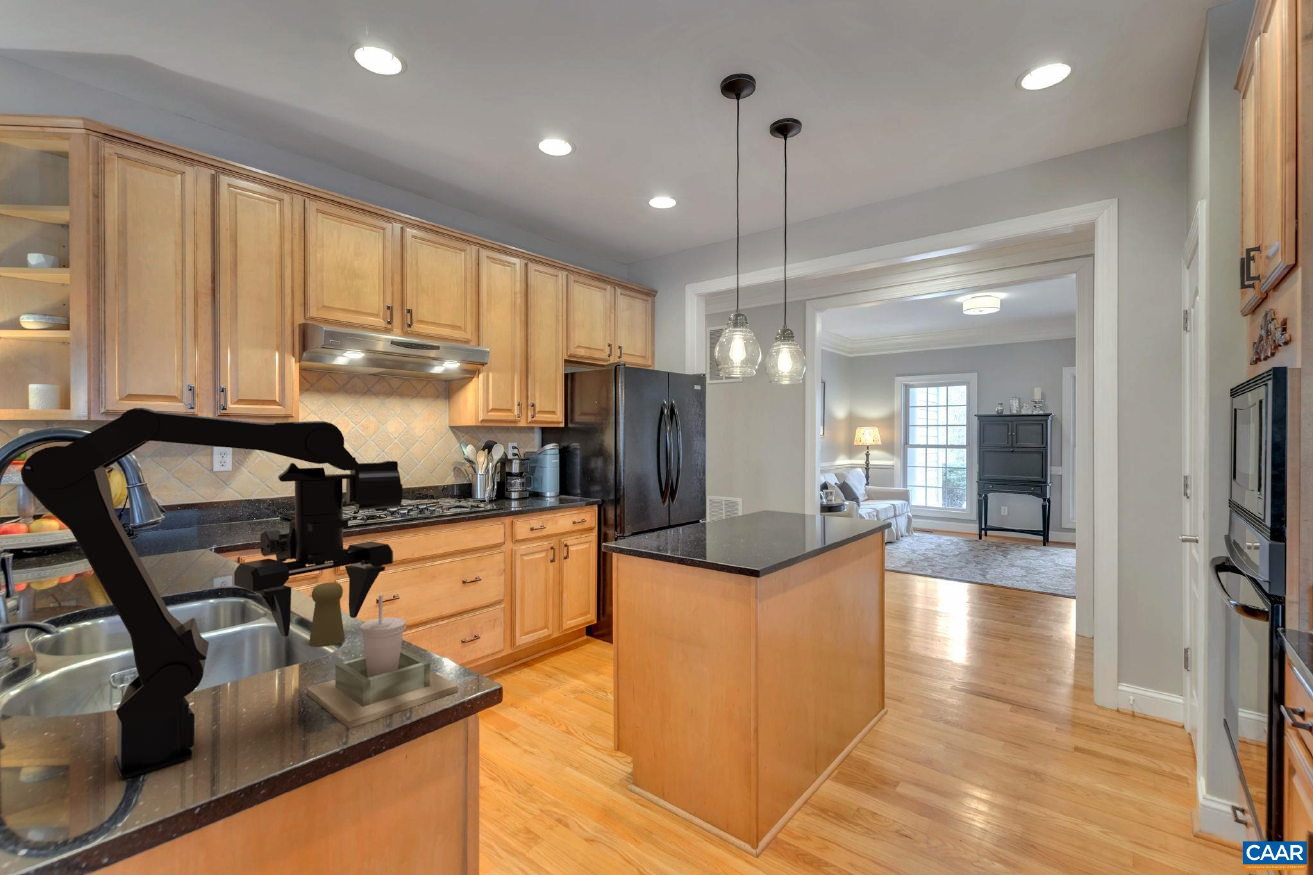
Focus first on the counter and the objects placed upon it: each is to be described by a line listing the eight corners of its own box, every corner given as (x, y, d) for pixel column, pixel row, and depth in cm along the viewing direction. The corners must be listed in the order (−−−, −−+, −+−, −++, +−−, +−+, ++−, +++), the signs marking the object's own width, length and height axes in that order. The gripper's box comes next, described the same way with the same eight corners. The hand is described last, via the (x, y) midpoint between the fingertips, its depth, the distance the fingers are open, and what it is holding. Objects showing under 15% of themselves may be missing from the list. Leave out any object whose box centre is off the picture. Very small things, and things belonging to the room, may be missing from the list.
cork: (333, 647, 111) (334, 587, 111) (301, 646, 112) (302, 587, 112) (351, 636, 117) (351, 580, 117) (320, 635, 118) (321, 579, 118)
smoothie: (349, 692, 89) (350, 598, 89) (381, 676, 95) (382, 588, 95) (383, 698, 87) (384, 602, 87) (414, 681, 93) (415, 591, 93)
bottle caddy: (349, 728, 80) (349, 694, 80) (306, 693, 91) (306, 664, 91) (458, 691, 92) (458, 662, 92) (409, 664, 103) (409, 638, 103)
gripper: (352, 502, 94) (353, 600, 94) (214, 516, 79) (215, 635, 79) (394, 506, 88) (395, 612, 88) (254, 523, 73) (255, 652, 73)
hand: (320, 626), depth 82 cm, fingers open, 9 cm apart
